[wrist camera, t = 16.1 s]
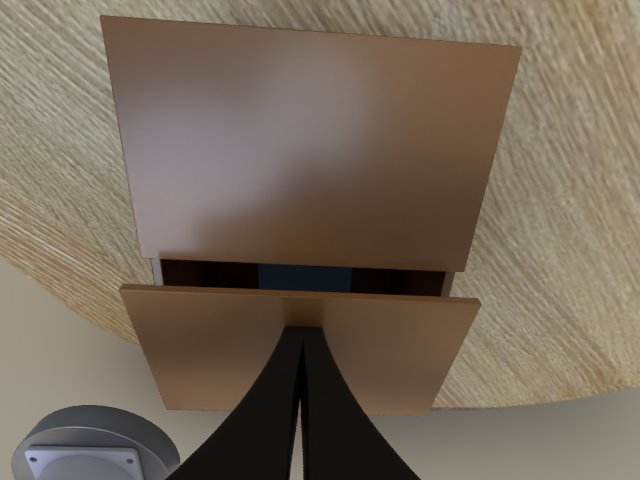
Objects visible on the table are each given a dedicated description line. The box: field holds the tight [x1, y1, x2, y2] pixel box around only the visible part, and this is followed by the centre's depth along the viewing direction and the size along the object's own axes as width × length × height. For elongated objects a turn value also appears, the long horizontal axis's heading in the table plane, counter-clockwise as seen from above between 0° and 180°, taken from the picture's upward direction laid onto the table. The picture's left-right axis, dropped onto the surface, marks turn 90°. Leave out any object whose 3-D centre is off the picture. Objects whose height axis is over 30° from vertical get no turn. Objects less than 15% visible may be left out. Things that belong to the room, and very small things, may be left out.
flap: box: [119, 284, 481, 416], centre depth 12 cm, size 7×12×1 cm, turn 87°
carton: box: [100, 15, 522, 297], centre depth 15 cm, size 15×12×8 cm
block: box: [258, 263, 353, 293], centre depth 18 cm, size 4×4×4 cm
